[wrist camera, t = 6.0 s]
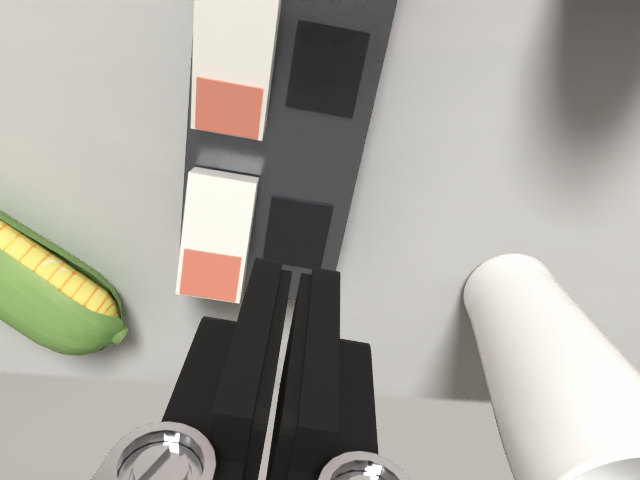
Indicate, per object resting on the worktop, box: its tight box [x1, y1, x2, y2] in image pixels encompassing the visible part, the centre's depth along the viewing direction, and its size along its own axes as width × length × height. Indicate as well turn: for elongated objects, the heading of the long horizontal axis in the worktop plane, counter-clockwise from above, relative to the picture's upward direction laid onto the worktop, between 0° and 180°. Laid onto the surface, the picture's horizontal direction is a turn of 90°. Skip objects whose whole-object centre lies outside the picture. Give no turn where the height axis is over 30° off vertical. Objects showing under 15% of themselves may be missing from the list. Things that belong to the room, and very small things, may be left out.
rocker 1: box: [191, 0, 282, 141], centre depth 21 cm, size 3×6×2 cm, turn 170°
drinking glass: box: [464, 253, 640, 480], centre depth 26 cm, size 7×7×15 cm
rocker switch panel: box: [180, 0, 397, 300], centre depth 24 cm, size 8×24×4 cm, turn 170°
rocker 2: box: [175, 167, 259, 303], centre depth 25 cm, size 3×6×2 cm, turn 170°
